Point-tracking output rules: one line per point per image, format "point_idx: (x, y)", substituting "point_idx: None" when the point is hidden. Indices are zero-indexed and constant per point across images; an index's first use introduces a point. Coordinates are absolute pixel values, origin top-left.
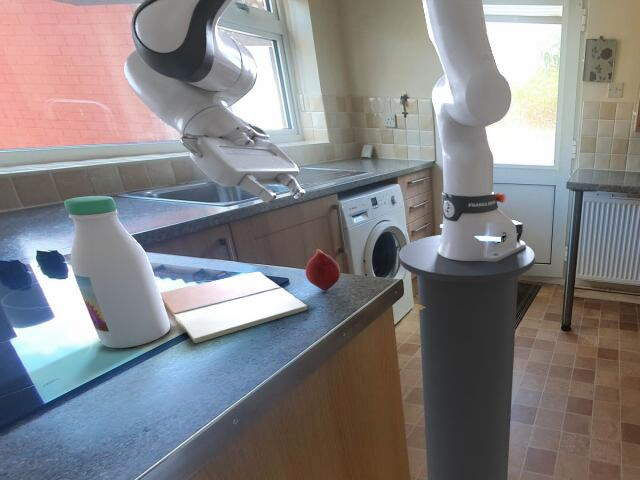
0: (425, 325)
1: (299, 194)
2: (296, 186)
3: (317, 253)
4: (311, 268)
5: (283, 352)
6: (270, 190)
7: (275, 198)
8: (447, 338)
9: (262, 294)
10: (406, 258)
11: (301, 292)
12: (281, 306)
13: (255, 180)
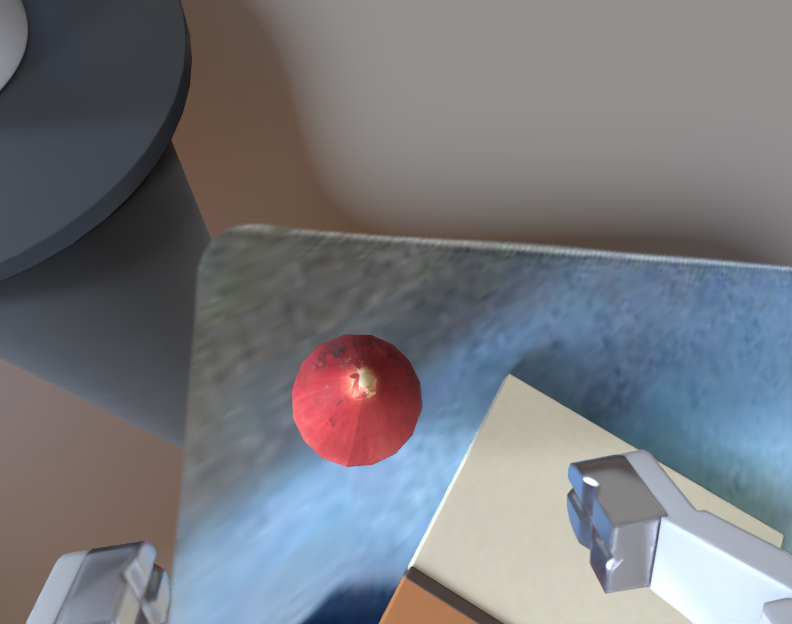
0: (135, 287)
1: (152, 562)
2: (89, 619)
3: (376, 384)
4: (417, 401)
5: (699, 298)
6: (617, 498)
7: (571, 473)
8: (183, 226)
9: (489, 585)
10: (16, 232)
11: (395, 486)
12: (544, 445)
13: (775, 602)
